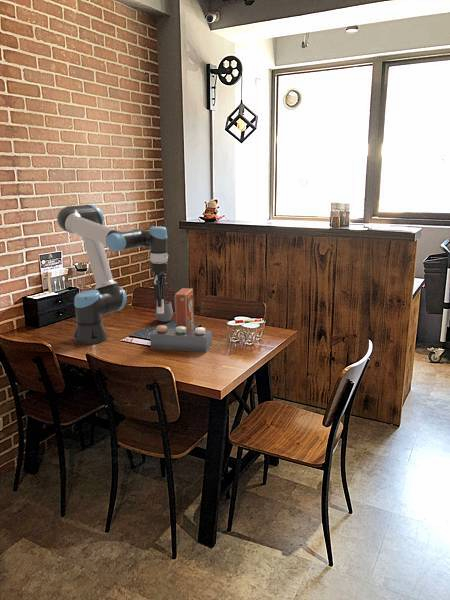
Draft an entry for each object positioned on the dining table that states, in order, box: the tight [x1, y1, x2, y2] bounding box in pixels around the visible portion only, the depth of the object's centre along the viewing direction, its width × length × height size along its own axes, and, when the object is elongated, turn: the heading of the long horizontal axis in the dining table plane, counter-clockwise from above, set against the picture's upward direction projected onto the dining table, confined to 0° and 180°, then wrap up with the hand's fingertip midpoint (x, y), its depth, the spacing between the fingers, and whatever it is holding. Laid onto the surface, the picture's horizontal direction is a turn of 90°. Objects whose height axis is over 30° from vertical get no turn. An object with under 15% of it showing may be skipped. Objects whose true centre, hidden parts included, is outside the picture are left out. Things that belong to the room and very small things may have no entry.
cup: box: [155, 300, 174, 323], centre depth 269 cm, size 10×9×10 cm
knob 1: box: [156, 324, 168, 333], centre depth 229 cm, size 5×5×8 cm
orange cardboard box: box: [174, 287, 195, 330], centre depth 246 cm, size 21×7×15 cm
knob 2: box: [194, 326, 206, 335], centre depth 226 cm, size 5×5×8 cm
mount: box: [149, 327, 213, 353], centre depth 228 cm, size 26×10×7 cm, turn 78°
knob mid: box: [175, 326, 186, 334], centre depth 228 cm, size 5×5×8 cm
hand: (160, 313), depth 227 cm, fingers closed
